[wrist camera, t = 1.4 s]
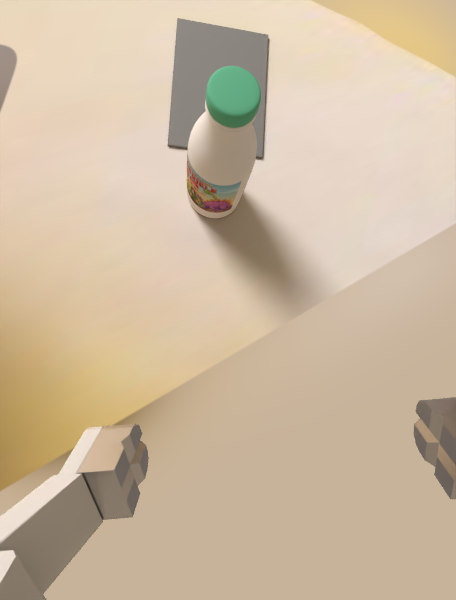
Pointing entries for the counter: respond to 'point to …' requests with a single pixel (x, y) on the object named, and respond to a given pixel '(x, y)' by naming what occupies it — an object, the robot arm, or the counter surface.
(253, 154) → the milk bottle
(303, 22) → the counter surface
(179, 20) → the mat
